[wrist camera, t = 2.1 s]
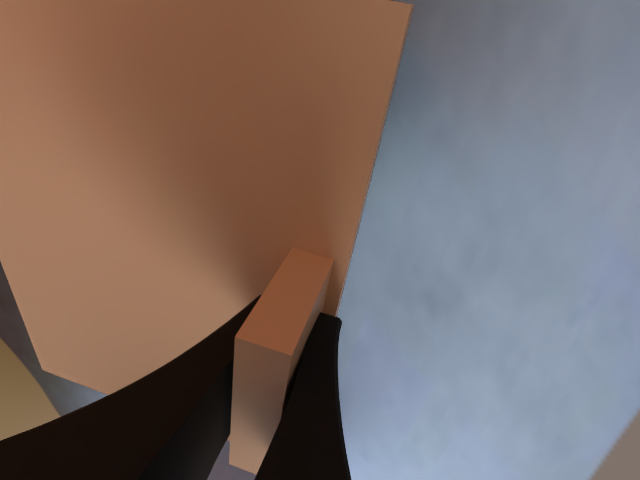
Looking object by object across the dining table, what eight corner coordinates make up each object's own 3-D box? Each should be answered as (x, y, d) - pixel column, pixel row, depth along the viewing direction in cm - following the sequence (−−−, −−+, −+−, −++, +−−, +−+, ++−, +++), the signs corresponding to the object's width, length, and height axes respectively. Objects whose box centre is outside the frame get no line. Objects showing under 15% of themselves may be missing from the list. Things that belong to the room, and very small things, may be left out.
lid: (306, 438, 17) (266, 566, 13) (64, 350, 19) (-35, 438, 15) (415, 6, 8) (392, -8, 4) (-74, -83, 10) (-427, -155, 6)
